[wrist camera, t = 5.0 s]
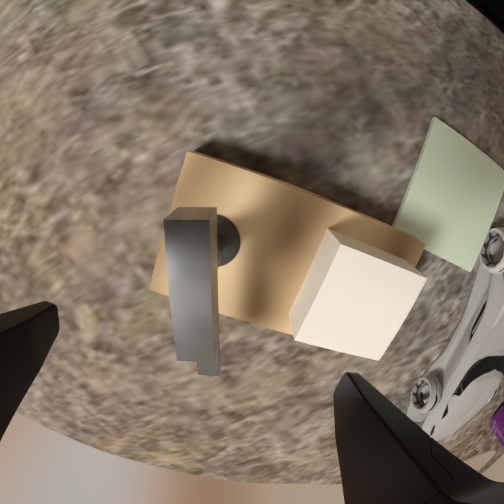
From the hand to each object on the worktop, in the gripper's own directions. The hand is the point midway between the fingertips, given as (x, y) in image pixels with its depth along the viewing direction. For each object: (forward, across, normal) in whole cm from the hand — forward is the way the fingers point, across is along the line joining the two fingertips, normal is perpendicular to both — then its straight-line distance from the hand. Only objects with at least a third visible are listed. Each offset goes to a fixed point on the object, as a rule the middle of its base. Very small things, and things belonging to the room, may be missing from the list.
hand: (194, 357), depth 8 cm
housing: (+12, -4, 0) cm, 13 cm away
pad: (+12, -16, -7) cm, 21 cm away
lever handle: (+10, 0, +2) cm, 10 cm away
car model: (+13, -26, +5) cm, 29 cm away
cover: (+10, -8, +1) cm, 13 cm away
